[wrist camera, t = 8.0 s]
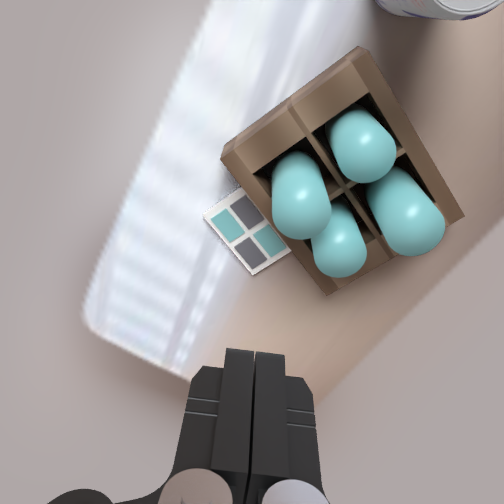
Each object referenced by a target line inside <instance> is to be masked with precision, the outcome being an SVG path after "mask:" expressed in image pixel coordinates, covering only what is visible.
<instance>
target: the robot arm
mask: <svg viewBox="0 0 504 504" xmlns="http://www.w3.org/2000/svg"><path fill="white" fill-rule="evenodd" d="M315 427H316V423H315V415H314V404H313V394H312V392H311V391H310V389H309V387H308V386H307V384H306V382H305V381H304V379H303V378H300V377H291V376H285V356H284V355H281V354H273V353H265V352H257V351H256V354H255V360H254V351H248V350H240V349H231V348H226V355H225V362H224V368H217V367H209V366H203V367H202V368H201V369H200V370H199V371H198V373H197V374H196V375H195V376H194V377H193V378H192V381H191V385H190V390H189V395H188V400H187V404H186V409H185V414H184V419H183V423H182V428H181V433H180V437H179V442H178V447H177V451H176V456H175V461H174V465H173V469H172V472H171V474H170V476H169V477H168V479H167V481H166V482H165V483H164V484H163V485H162V486H161V487H160V488H158V489H157V490H156V491H155V492H153V493H151V494H149V495H147V496H145V497H143V498H138V499H135V500H130V501H125V502H120V503H115V504H330V503H329V502H328V500H327V498H326V496H325V494H324V491H323V488H322V482H321V472H320V462H319V453H318V443H317V433H316V429H315ZM48 504H113V503H112V502H111V500H110V499H109V498H108V497H107V496H105V495H104V494H103V493H101V492H98V491H96V490H91V489H78V490H73V491H69V492H66V493H64V494H62V495H60V496H58V497H57V498H55V499H54V500H52V501H51V502H49V503H48Z"/></svg>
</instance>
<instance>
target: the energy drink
mask: <svg viewBox="0 0 504 504" xmlns="http://www.w3.org/2000/svg"><path fill="white" fill-rule="evenodd" d="M375 1H376V2H377V4H378V5H379V6H380V7H381V8H382V9H384V10H385V11H387V12H389V13H391V14H393V15H398V16H407V17H419V18H432V19H444V20H468V19H472V18H476V17H479V16H481V15H483V14H486V13H488V12H489V11H491V10H492V9H494V8H496V7H497V6H498V5H499V4H501V3H503V2H504V0H375Z"/></svg>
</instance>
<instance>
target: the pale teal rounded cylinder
mask: <svg viewBox="0 0 504 504" xmlns="http://www.w3.org/2000/svg"><path fill="white" fill-rule="evenodd" d="M272 217H273V221H274V224H275V226H276V227H277V229H278V230H279V231H280V232H281V233H282V234H284V235H285V236H287V237H289V238H292V239H298V240H304V239H309V238H312V237H315V236H317V235H318V234H320V233H321V232H322V231H323V230H324V229H325V228H326V227H327V225H328V223H329V221H330V218H331V204H330V201H329V198H328V195H327V191H326V188H325V185H324V181H323V178H322V175H321V172H320V168H319V165H318V163H317V161H316V160H315V159H314V158H313V157H312V156H311V155H310V154H308V153H306V152H303V151H290V152H287V153H285V154H283V155H282V156H280V157H279V158H278V159H277V160H276V162H275V164H274V166H273V168H272Z"/></svg>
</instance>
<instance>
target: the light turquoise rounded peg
mask: <svg viewBox="0 0 504 504" xmlns="http://www.w3.org/2000/svg"><path fill="white" fill-rule="evenodd" d="M330 204H331V218H330V221H329V223H328V225H327V227H326V228H325V229H324V230H323V231H322V232H321V233H320V234H318V235H317V236H315V237H312V238H311V243H312V249H313V255H314V260H315V264H316V266H317V267H318V269H319V270H320V271H321V272H322V273H324V274H326V275H328V276H330V277H335V278H342V277H347V276H350V275H352V274H354V273H356V272H357V271H358V270H359V269H360V268H361V267H362V266H363V264H364V263H365V260H366V257H367V249H366V246H365V243H364V241H363V238H362V236H361V233H360V231H359V228H358V226H357V223H356V221H355V218H354V216H353V213H352V211H351V208H350V206H349V203H348V202H347V200H346V199H345V198H344V197H343V196H341V195H339V196H337V197H335V198H334V199H332V200H331V201H330Z"/></svg>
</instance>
